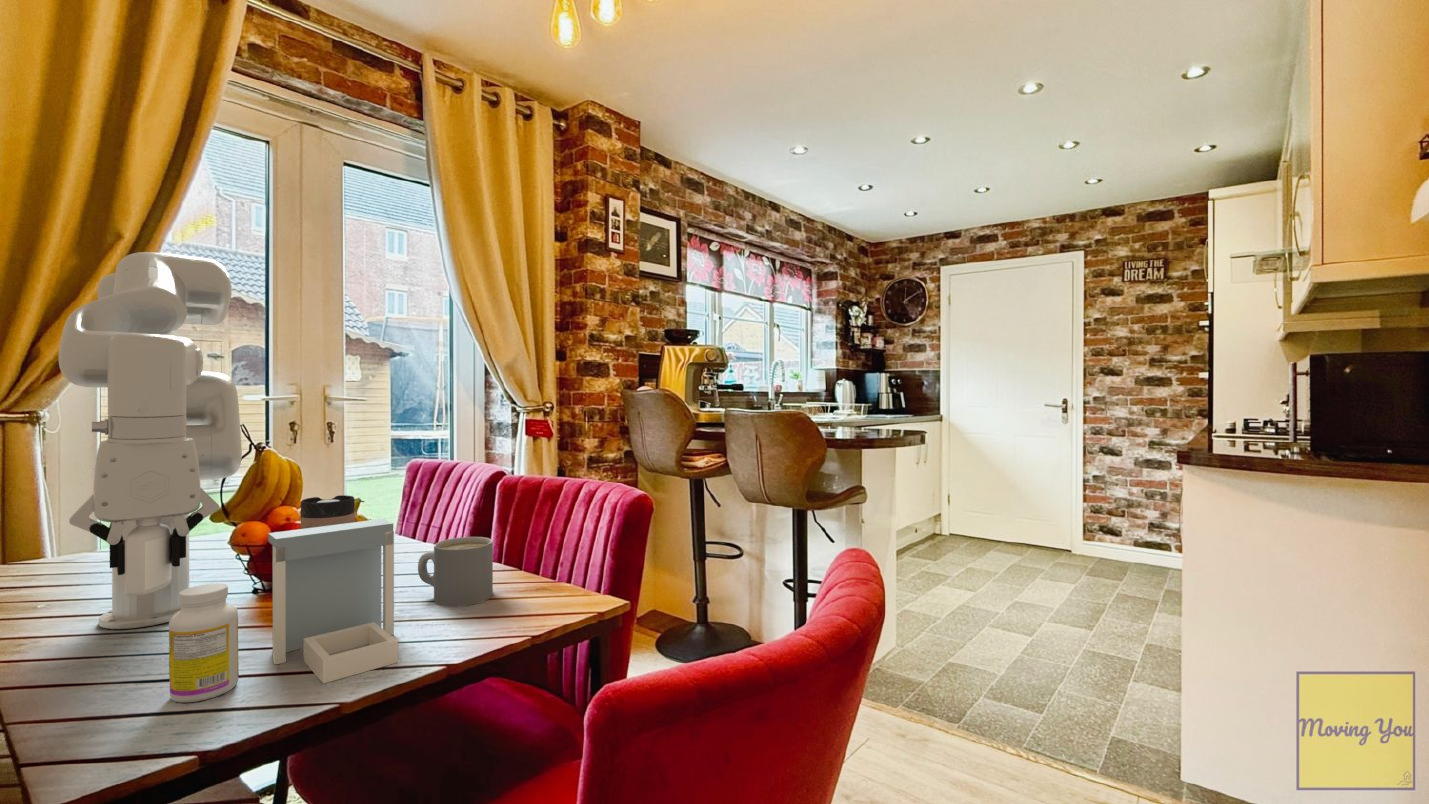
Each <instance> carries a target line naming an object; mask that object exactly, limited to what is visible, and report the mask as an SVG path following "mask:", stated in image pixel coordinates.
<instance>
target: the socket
mask: <svg viewBox="0 0 1429 804" xmlns="http://www.w3.org/2000/svg"><path fill="white" fill-rule="evenodd" d="M303 661H304V663H305V664H306V665H307V666H308V667H309V669H310V668H311V672H313V674H314V675H315V676H316V677H317V678H318V679H319V681H320V682H321V683H322V684H326V683H330V682H333V681H337V680H340V679H344V678H348V677H351V676H355V675H358V674H361V673H366V672H368V671H369V672H370V671H372V670H376V669H379V668H383V667H386V666H390V665H394V664H396V663H397V664H398V663H399V640H398V639H396V638H395V637H394V636H393V635H390V634H389V633H387V632H386V631H385V630H384V629H383V627H382V626H381V627H380V626H379V625H377V624H376V623H375V622H372V623H368V624H364V625H359V626H355V627H351V628H347V629H342V630H338V631H334V632H329V633H325V634H321V635H317V636H312V637H308V638H304V648H303Z"/></svg>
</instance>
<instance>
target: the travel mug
mask: <svg viewBox="0 0 1429 804" xmlns="http://www.w3.org/2000/svg"><path fill="white" fill-rule="evenodd" d="M355 499H356V498H355V497H354V496H352V495H341V494H339V495H335V496H334V497H333V498H329V499H328V498H327V499H323V498H321V497H319V496H313V497H308V498H303V499H302V500H301V501H300V525H299V526H300V529H306V528H314V527H322V526H329V525H337V524H345V523H353V522H356V519H355V518H356V516H355V511H356V510H355V504H356V503H355Z"/></svg>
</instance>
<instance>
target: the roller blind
mask: <svg viewBox="0 0 1429 804" xmlns="http://www.w3.org/2000/svg"><path fill="white" fill-rule="evenodd" d="M267 534H268V535H267V542H268V543H269V544H271V545H272V549H271V550H272V553H271V554H272V563H271V564H272V565H271V566H272V568H271V569H272V570H271V571H272V654H273V655H272V659H273V661H272V662H273V664H274V665H279V664H283V663H286V662H287V661H286V658H287V657H286V653H289V652H292V651H297V650H302V649H304V638H308V637H312V636H317V635H321V634H325V633H329V632H334V631H338V630H342V629H347V628H351V627H355V626H359V625H364V624H368V623H372V622H375V623H376V624H377V625H379V626H380V627H381V628H382V629H384V630H385V631H386V632H387V633H389V634H390V635H391V636H393V635H395V530H394V523H393V522H391V521H388V520H386V519H384V518H377V519H370V520H363V521H362V520H361V521H355V522H353V523H345V524H337V525H329V526H322V527H314V528H306V529H299V528H298V529H291V530H284V531H274V532H268V533H267Z"/></svg>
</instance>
